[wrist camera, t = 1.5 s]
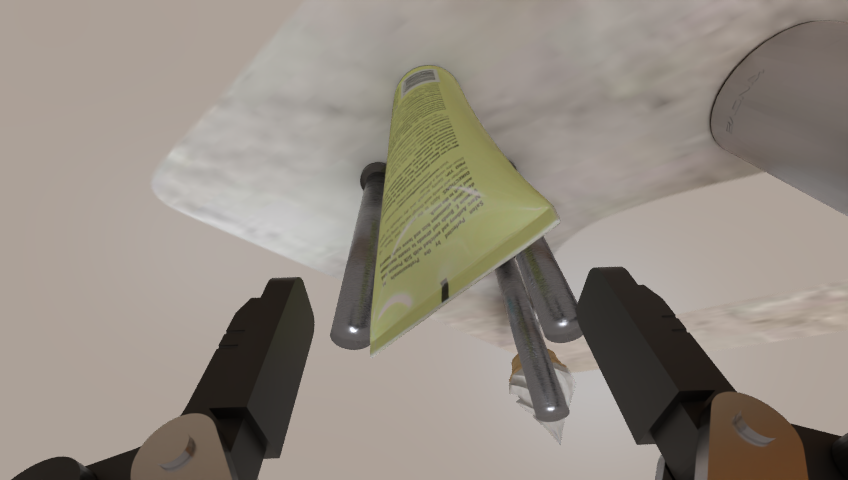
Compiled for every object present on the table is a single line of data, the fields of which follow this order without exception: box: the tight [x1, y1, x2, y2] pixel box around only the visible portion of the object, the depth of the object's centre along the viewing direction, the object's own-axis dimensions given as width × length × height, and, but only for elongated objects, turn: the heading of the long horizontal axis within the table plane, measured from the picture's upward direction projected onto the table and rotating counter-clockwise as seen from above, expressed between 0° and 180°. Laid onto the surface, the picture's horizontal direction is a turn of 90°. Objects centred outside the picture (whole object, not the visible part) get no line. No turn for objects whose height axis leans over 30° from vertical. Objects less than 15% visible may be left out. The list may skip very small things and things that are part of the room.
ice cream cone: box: [509, 349, 576, 444], centre depth 32 cm, size 6×6×15 cm
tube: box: [370, 66, 560, 358], centre depth 18 cm, size 6×5×20 cm
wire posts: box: [330, 161, 583, 422], centre depth 25 cm, size 14×11×16 cm
